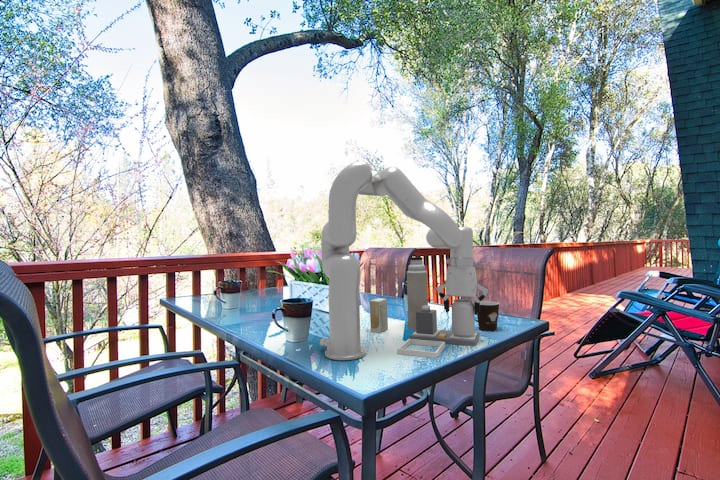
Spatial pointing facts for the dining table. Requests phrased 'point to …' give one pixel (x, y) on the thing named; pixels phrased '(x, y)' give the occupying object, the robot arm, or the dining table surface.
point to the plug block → (426, 320)
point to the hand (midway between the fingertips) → (461, 312)
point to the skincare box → (378, 315)
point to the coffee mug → (488, 316)
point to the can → (463, 318)
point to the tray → (417, 352)
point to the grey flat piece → (447, 338)
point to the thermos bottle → (416, 289)
